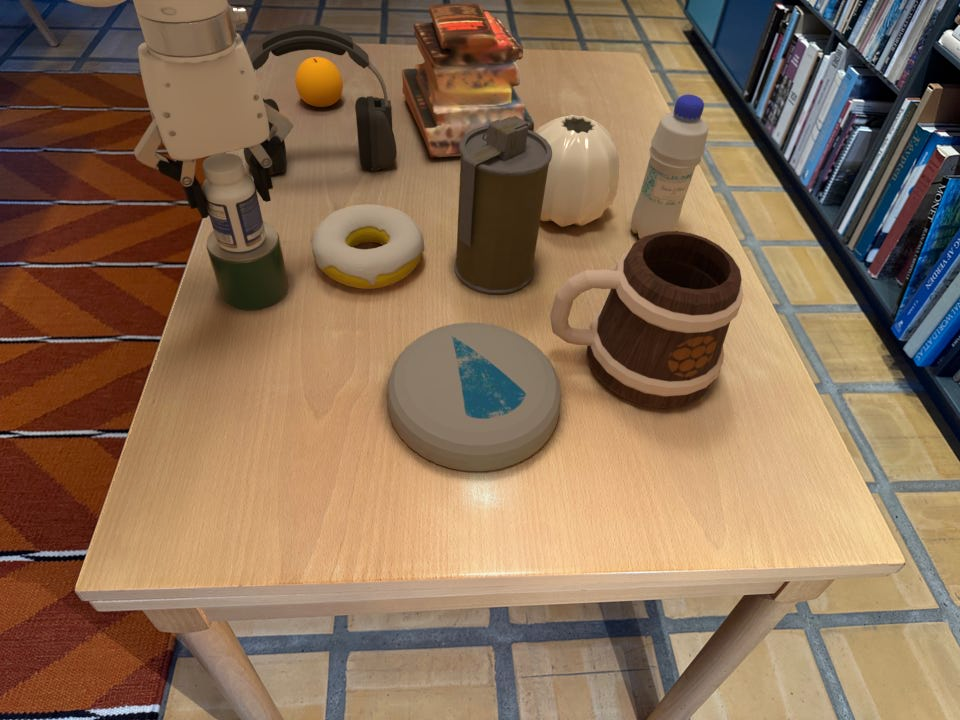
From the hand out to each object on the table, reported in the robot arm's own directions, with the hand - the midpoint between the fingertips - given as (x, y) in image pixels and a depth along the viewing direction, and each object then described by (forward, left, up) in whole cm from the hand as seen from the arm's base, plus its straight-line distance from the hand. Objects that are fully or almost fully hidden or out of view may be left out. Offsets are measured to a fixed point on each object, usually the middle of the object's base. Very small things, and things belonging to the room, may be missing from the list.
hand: (233, 201), depth 70 cm
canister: (+29, +5, -13) cm, 32 cm away
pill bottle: (0, 0, -5) cm, 5 cm away
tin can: (0, 0, -12) cm, 12 cm away
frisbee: (+26, -17, -13) cm, 34 cm away
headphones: (+4, +29, -13) cm, 32 cm away
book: (+26, +43, -13) cm, 52 cm away
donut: (+13, +6, -13) cm, 19 cm away
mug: (+44, -11, -13) cm, 48 cm away
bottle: (+52, +14, -13) cm, 56 cm away
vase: (+40, +19, -13) cm, 47 cm away
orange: (+1, +49, -13) cm, 51 cm away
